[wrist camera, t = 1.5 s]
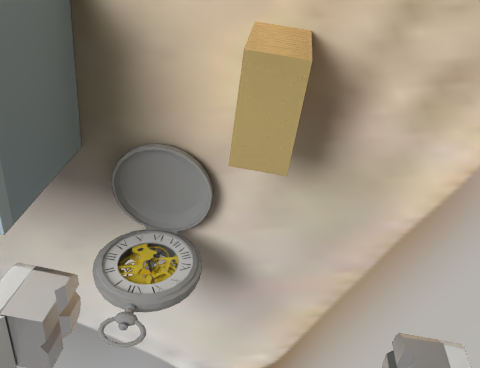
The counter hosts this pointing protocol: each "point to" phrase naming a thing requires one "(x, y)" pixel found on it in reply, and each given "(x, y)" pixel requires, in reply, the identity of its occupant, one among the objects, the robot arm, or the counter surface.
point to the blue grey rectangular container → (35, 101)
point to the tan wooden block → (270, 97)
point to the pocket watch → (153, 234)
